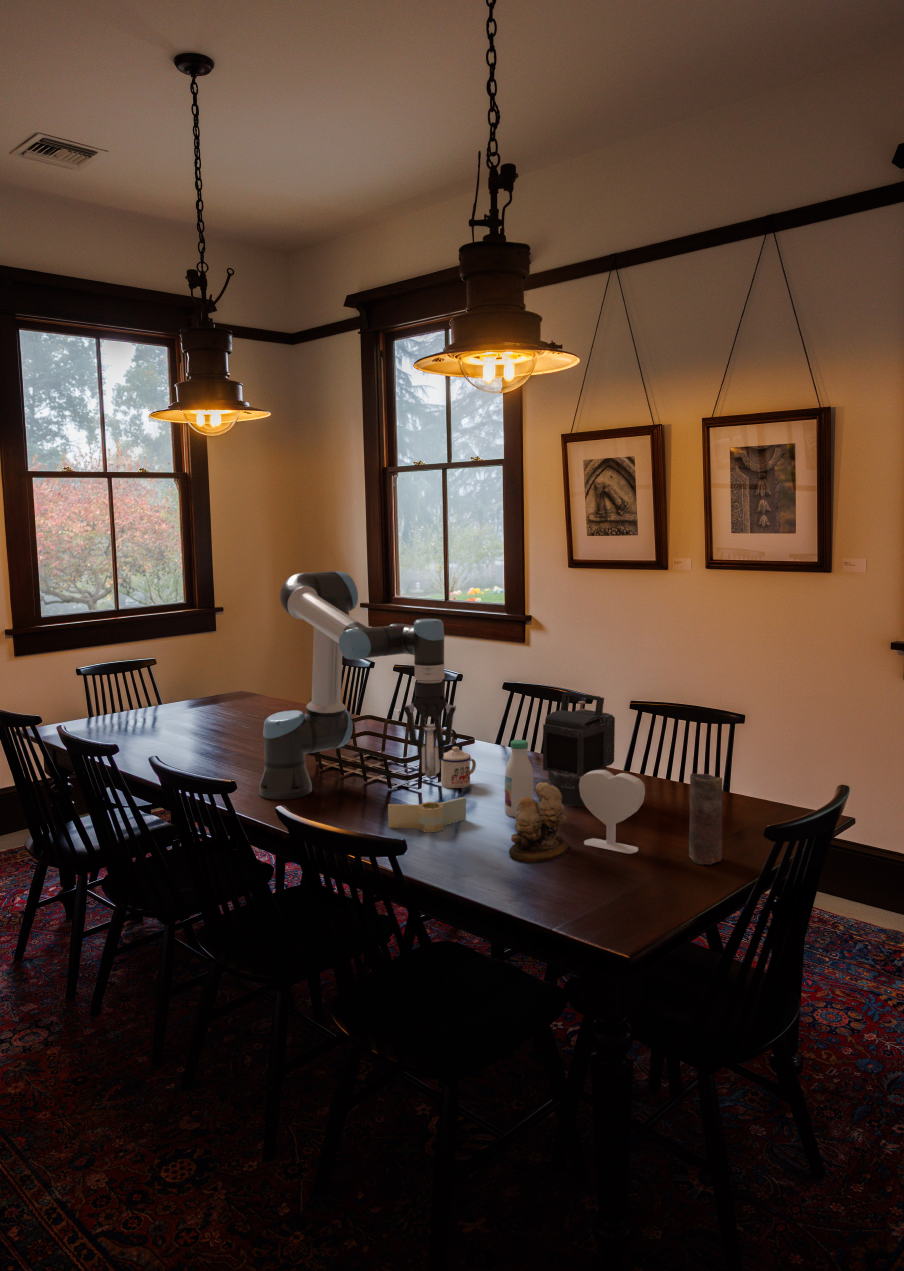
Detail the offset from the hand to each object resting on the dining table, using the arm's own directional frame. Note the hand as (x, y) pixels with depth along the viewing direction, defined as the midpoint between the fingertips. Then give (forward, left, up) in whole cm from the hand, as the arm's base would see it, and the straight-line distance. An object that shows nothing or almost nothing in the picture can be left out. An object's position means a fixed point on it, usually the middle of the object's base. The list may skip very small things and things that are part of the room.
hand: (430, 771), depth 220 cm
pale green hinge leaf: (+3, +3, -15) cm, 16 cm away
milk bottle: (+22, +14, -15) cm, 30 cm away
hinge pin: (0, 0, -1) cm, 1 cm away
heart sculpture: (+45, -8, -15) cm, 48 cm away
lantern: (+38, +29, -15) cm, 50 cm away
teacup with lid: (+3, +40, -15) cm, 43 cm away
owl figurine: (+28, -13, -15) cm, 34 cm away
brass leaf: (-4, 0, -15) cm, 16 cm away
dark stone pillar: (+66, -15, -15) cm, 69 cm away
